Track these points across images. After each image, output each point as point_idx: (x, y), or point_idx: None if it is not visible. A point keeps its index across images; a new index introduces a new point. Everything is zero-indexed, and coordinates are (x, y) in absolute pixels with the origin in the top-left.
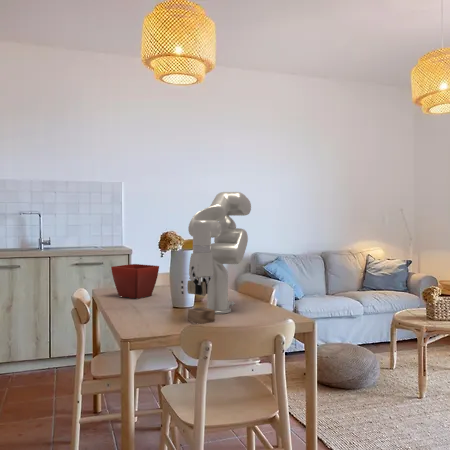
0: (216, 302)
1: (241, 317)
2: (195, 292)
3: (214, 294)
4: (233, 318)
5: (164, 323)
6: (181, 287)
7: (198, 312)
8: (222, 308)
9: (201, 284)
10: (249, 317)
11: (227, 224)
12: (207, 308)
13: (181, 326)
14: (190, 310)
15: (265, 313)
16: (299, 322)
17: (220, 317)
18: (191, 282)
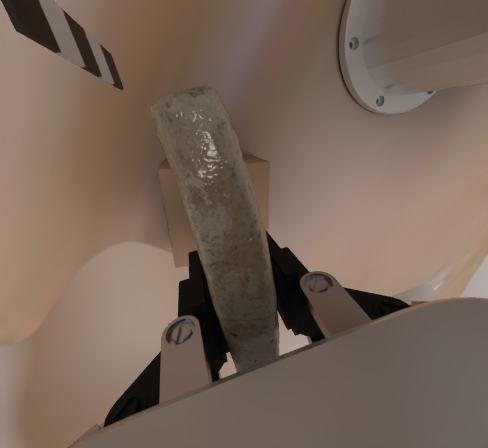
0: (409, 71)
1: (371, 211)
2: (189, 258)
3: (459, 42)
4: (340, 213)
5: (14, 161)
6: (71, 27)
7: (175, 265)
8: (402, 93)
9: (232, 358)
10: (387, 223)
11: None
12: (264, 202)
13: (89, 253)
14: (162, 194)
15: (469, 191)
16: None
17: (318, 173)
18: (187, 207)
